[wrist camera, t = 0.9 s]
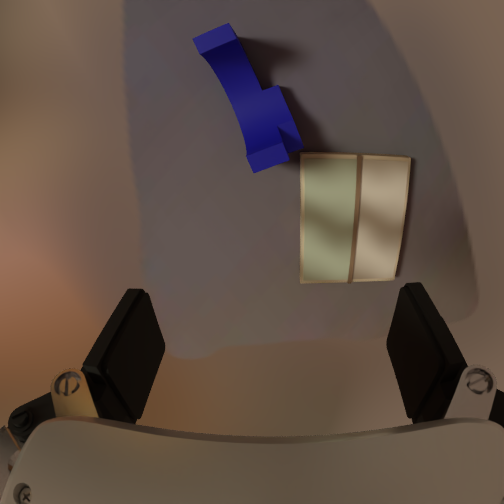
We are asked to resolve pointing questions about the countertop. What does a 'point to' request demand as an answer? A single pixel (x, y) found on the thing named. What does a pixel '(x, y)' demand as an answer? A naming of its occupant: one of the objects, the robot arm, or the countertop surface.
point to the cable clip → (251, 100)
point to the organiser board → (351, 215)
